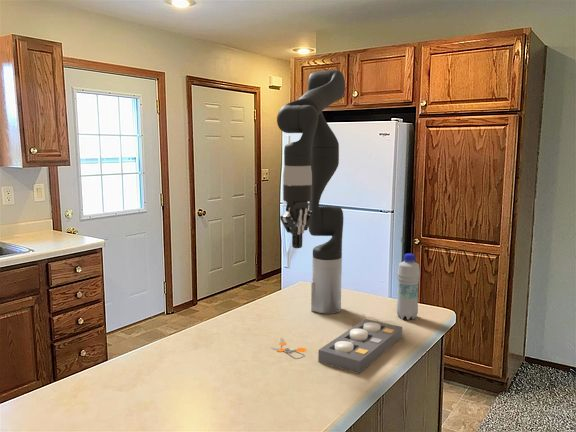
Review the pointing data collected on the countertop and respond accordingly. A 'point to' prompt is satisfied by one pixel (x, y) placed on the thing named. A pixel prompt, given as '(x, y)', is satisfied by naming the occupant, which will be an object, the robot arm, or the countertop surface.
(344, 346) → the button front
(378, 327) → the button back
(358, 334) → the button middle
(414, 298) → the bottle
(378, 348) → the panel
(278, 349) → the key chain
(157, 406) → the countertop surface
